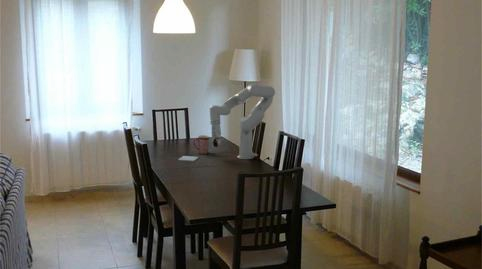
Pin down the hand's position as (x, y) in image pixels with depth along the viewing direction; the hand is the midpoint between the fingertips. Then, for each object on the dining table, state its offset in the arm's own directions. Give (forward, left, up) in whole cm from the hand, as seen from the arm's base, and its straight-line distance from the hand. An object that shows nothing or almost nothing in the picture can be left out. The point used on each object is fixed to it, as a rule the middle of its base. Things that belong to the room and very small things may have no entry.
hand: (216, 145), depth 394 cm
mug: (+16, -14, -10) cm, 23 cm away
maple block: (0, 0, -1) cm, 1 cm away
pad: (+19, +9, -10) cm, 24 cm away
